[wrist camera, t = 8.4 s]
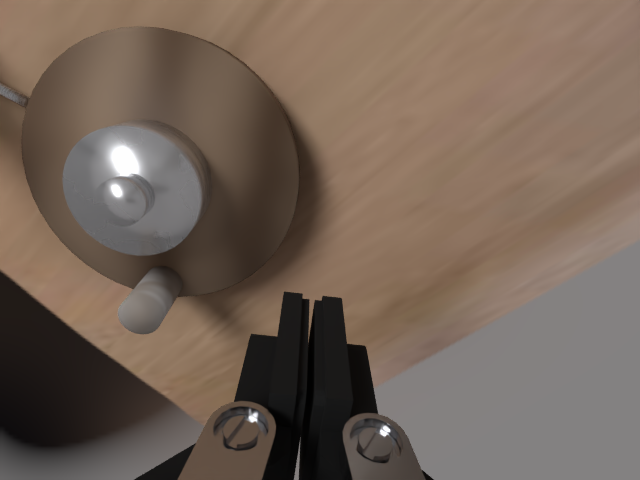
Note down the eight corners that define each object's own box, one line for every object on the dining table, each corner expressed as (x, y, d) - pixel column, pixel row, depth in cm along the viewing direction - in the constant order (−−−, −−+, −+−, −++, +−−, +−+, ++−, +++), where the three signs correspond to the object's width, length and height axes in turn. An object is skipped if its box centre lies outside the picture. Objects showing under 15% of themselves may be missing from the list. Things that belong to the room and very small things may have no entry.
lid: (211, 125, 23) (188, 137, 19) (212, 239, 26) (193, 272, 22) (84, 113, 23) (32, 123, 19) (99, 231, 25) (56, 262, 21)
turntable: (315, 53, 23) (315, 47, 18) (285, 297, 30) (278, 348, 24) (25, 8, 22) (-68, -12, 17) (56, 271, 29) (-5, 318, 23)
